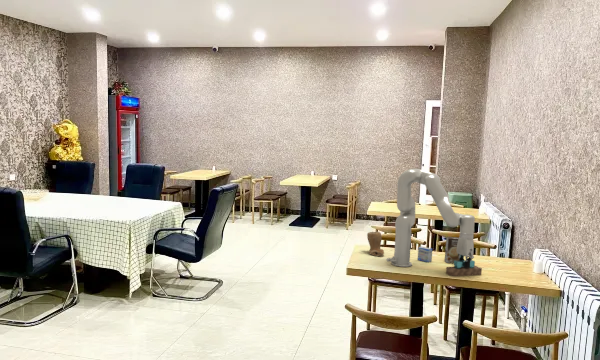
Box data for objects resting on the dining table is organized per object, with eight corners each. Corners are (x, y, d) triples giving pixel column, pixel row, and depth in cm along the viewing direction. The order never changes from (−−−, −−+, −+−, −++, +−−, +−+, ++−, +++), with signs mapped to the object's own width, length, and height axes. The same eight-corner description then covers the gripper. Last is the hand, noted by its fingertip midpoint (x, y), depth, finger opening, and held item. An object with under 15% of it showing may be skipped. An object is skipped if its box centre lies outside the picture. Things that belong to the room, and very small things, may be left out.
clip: (456, 275, 270) (457, 261, 269) (453, 274, 273) (454, 260, 272) (473, 274, 273) (474, 261, 273) (470, 273, 276) (471, 259, 275)
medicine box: (417, 260, 301) (418, 247, 301) (420, 259, 305) (421, 246, 304) (428, 262, 296) (429, 249, 295) (431, 261, 299) (432, 248, 299)
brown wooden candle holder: (452, 276, 267) (452, 269, 267) (445, 273, 273) (446, 266, 272) (481, 275, 273) (481, 268, 273) (474, 272, 279) (475, 265, 278)
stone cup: (366, 250, 322) (368, 229, 320) (384, 252, 319) (385, 230, 318) (365, 255, 307) (366, 233, 306) (383, 257, 305) (385, 235, 303)
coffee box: (446, 263, 297) (448, 238, 295) (444, 260, 303) (446, 236, 302) (461, 264, 296) (463, 239, 295) (458, 261, 302) (460, 237, 301)
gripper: (452, 233, 278) (450, 262, 279) (470, 239, 262) (467, 270, 263) (462, 232, 280) (460, 262, 282) (481, 239, 264) (479, 270, 265)
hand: (464, 266), depth 272 cm, fingers open, 4 cm apart
